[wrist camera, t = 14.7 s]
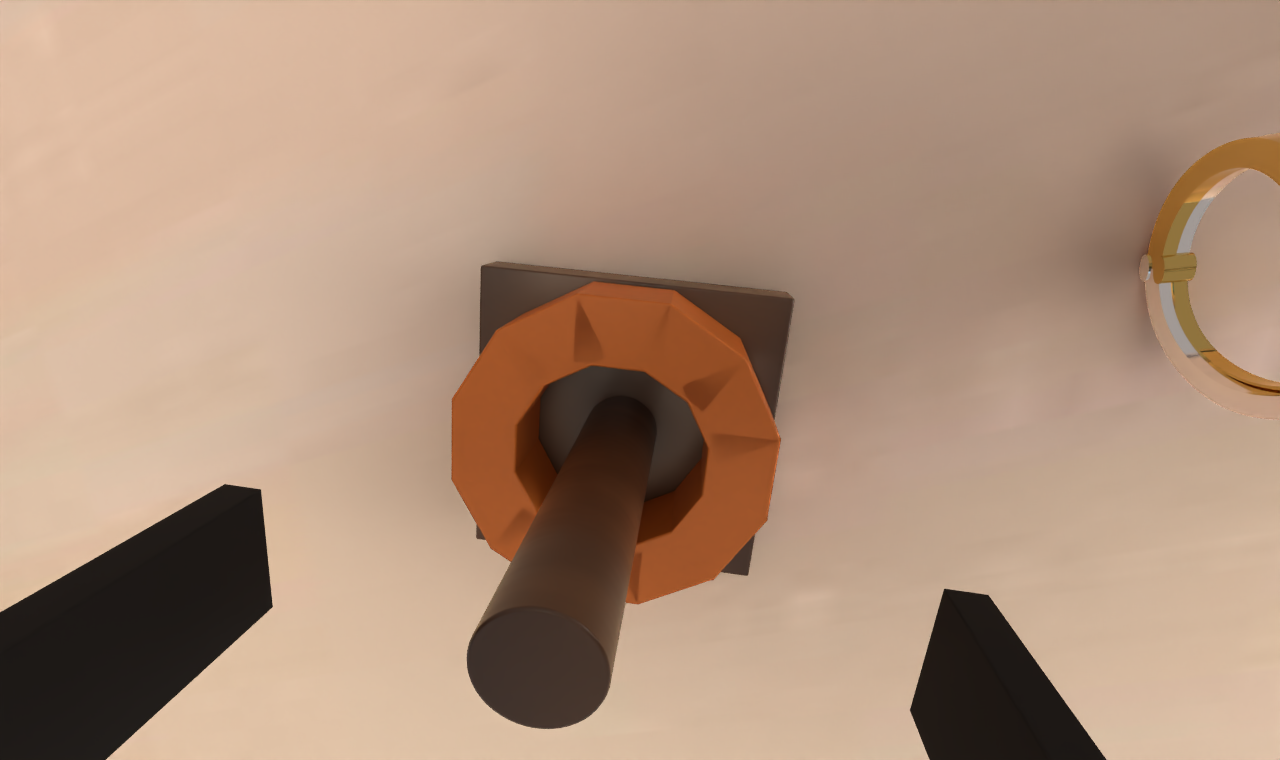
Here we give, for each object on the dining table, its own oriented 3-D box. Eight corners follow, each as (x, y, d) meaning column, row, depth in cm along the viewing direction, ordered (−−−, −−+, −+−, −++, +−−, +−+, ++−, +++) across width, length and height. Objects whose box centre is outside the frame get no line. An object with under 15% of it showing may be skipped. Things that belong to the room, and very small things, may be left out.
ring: (1197, 368, 19) (1525, 473, 12) (1090, 377, 20) (1338, 485, 12) (1225, 139, 17) (1636, 86, 10) (1107, 155, 18) (1412, 115, 10)
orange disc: (787, 301, 18) (803, 318, 16) (743, 569, 21) (750, 621, 19) (485, 269, 19) (450, 279, 16) (480, 533, 22) (450, 579, 19)
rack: (788, 292, 20) (923, 420, 8) (744, 553, 23) (796, 938, 11) (495, 261, 20) (210, 336, 9) (489, 519, 23) (269, 846, 11)
